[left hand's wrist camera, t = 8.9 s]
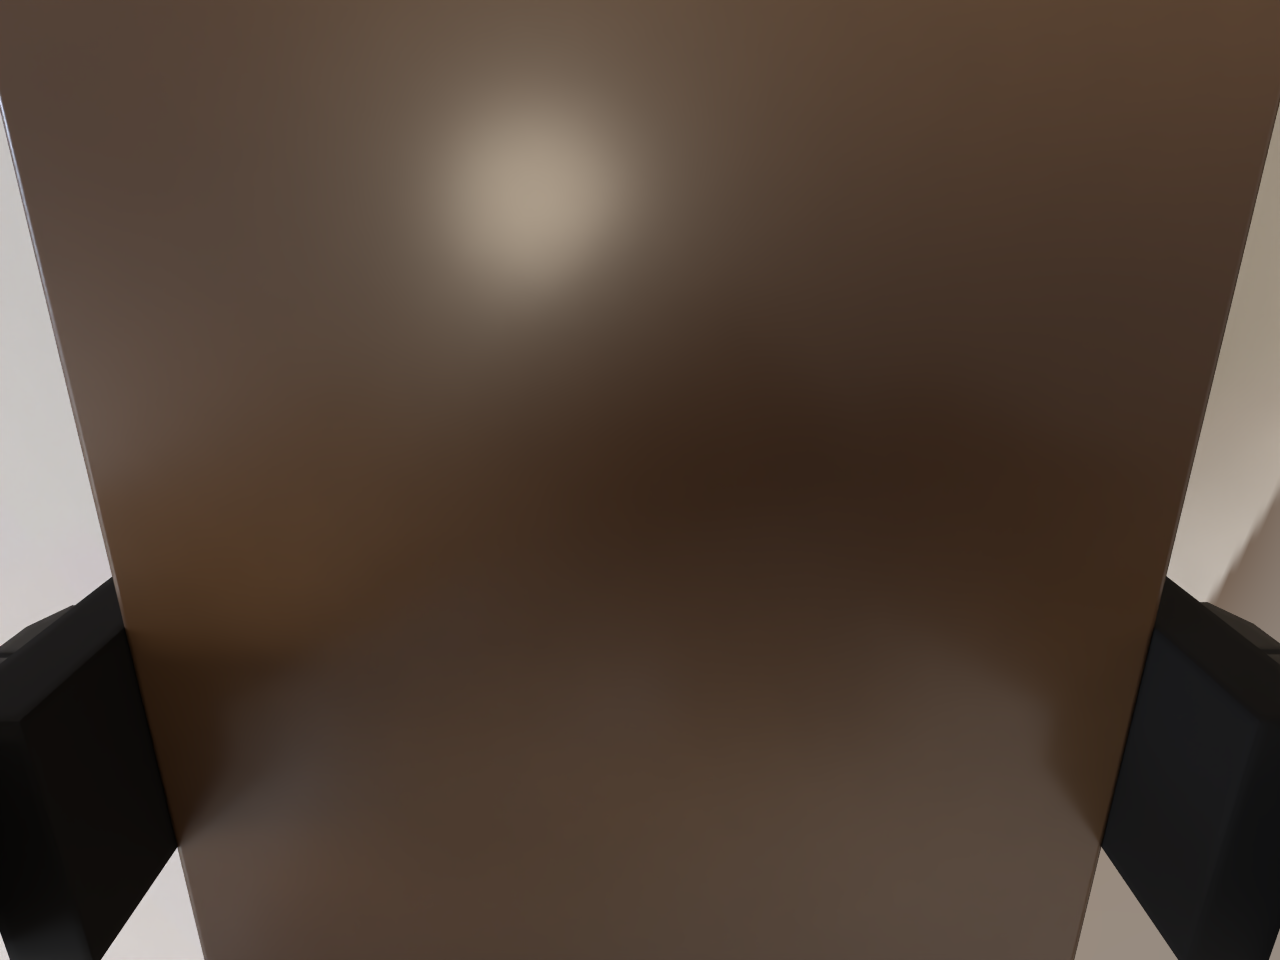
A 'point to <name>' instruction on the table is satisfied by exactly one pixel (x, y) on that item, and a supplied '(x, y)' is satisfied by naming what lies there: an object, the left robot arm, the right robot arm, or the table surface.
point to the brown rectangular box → (639, 447)
